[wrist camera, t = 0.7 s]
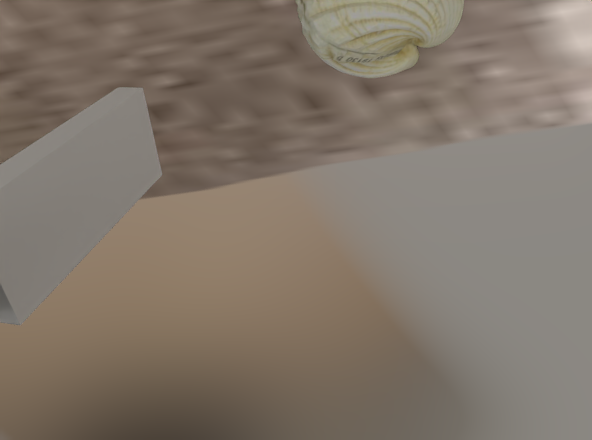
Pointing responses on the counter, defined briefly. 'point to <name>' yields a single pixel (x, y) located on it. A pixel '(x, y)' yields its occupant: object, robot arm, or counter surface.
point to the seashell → (376, 32)
